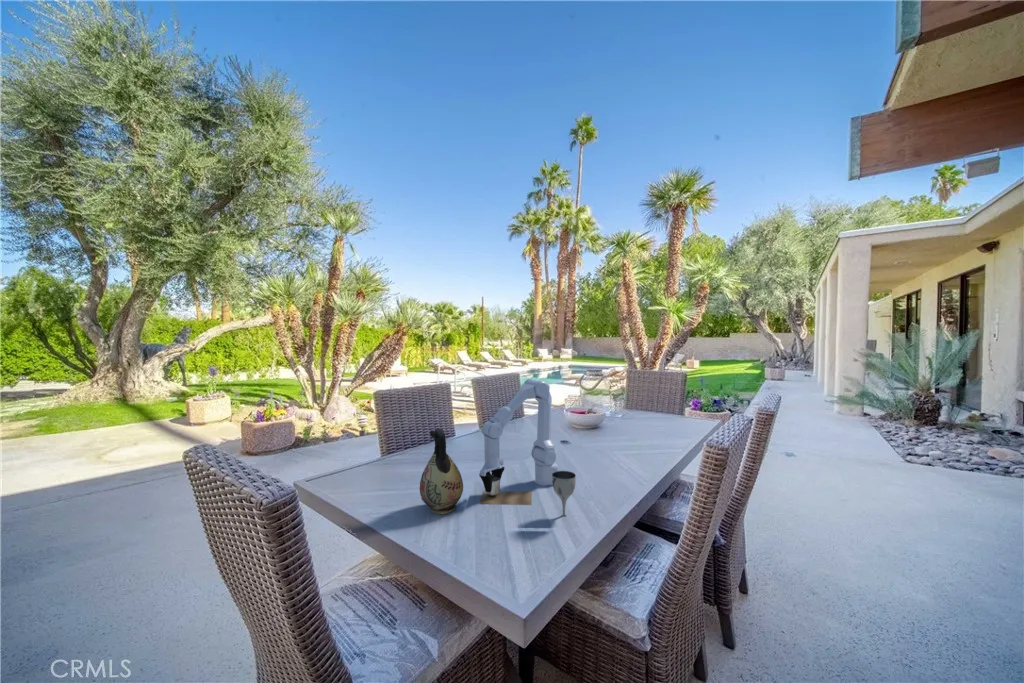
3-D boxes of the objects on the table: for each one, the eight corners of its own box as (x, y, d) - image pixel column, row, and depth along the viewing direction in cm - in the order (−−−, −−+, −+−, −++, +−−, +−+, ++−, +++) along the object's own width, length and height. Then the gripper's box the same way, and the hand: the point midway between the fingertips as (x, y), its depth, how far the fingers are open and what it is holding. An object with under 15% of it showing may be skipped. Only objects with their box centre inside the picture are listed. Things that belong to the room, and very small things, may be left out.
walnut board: (531, 494, 156) (531, 491, 156) (531, 507, 144) (531, 504, 144) (483, 493, 157) (483, 490, 157) (479, 506, 145) (479, 504, 145)
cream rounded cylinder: (496, 494, 154) (496, 485, 154) (495, 497, 151) (495, 488, 151) (488, 494, 154) (488, 485, 154) (488, 497, 151) (487, 488, 151)
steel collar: (502, 490, 154) (502, 477, 154) (495, 496, 149) (495, 482, 149) (489, 488, 156) (489, 475, 156) (482, 493, 151) (482, 480, 151)
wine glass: (570, 526, 130) (569, 480, 130) (548, 520, 135) (547, 476, 134) (579, 516, 137) (579, 473, 137) (558, 511, 141) (558, 469, 141)
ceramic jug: (416, 504, 148) (415, 423, 147) (457, 497, 154) (456, 420, 153) (424, 524, 132) (423, 434, 132) (469, 516, 138) (468, 430, 137)
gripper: (491, 460, 144) (491, 497, 144) (510, 449, 157) (510, 483, 157) (475, 457, 147) (475, 494, 148) (494, 447, 160) (494, 481, 160)
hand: (492, 488), depth 153 cm, fingers closed on steel collar, 6 cm apart
